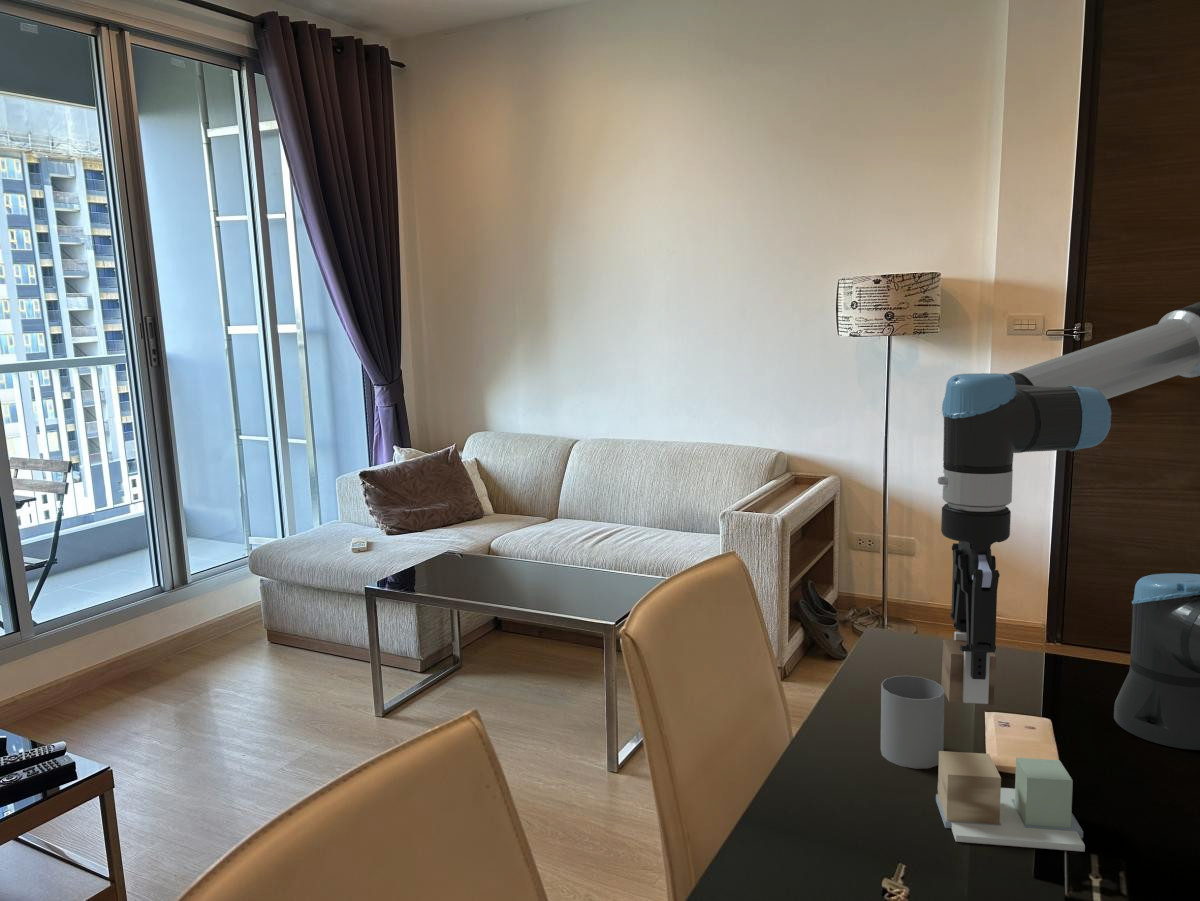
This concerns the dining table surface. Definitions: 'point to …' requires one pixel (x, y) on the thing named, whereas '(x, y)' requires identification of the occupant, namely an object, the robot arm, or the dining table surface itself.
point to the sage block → (1043, 792)
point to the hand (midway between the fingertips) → (970, 691)
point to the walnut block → (960, 671)
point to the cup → (912, 721)
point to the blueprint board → (1016, 829)
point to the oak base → (969, 787)
